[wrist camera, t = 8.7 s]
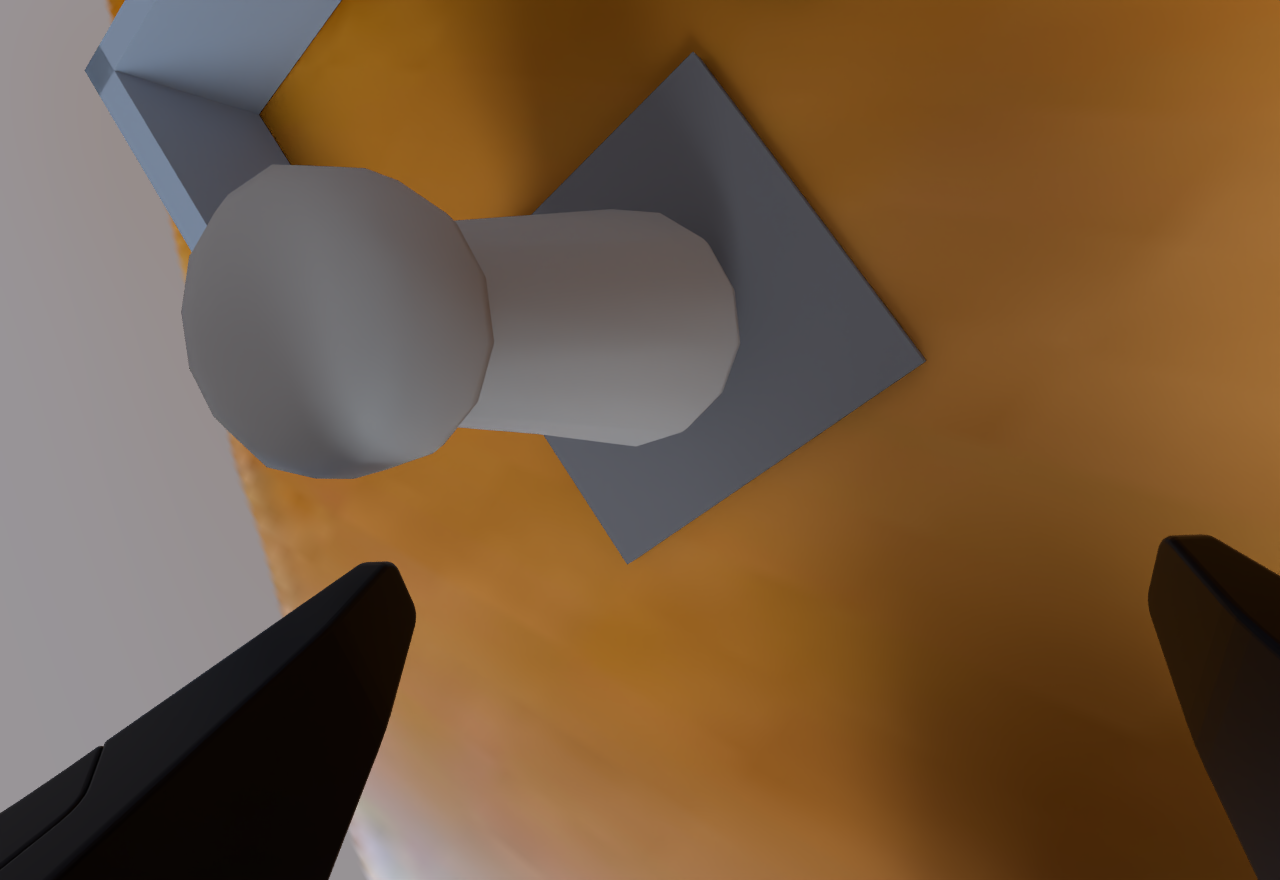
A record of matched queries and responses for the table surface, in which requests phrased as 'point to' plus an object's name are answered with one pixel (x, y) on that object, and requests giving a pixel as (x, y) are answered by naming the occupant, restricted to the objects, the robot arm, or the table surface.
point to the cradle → (201, 91)
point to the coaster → (765, 300)
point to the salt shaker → (443, 322)
